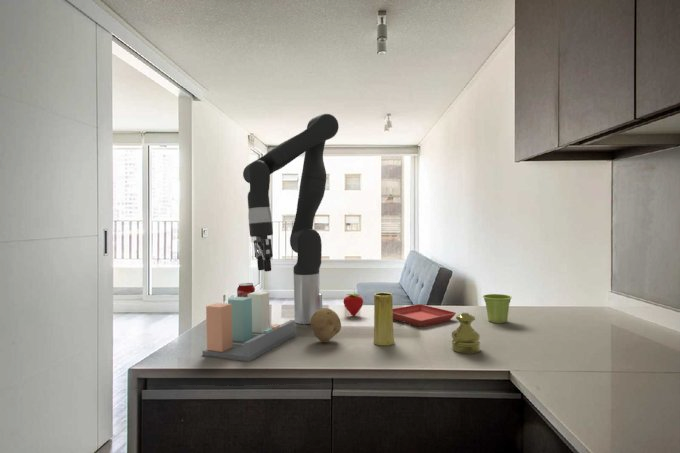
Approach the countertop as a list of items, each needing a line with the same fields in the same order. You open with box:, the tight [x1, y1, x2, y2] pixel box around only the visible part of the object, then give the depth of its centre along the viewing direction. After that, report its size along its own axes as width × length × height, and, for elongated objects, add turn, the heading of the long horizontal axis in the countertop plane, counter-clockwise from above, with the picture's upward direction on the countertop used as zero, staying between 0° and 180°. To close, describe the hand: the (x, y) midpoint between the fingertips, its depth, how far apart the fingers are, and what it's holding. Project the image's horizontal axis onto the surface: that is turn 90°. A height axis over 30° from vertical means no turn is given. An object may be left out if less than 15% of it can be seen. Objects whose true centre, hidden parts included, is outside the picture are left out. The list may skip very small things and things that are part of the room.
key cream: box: [248, 291, 271, 333], centre depth 128 cm, size 5×4×12 cm
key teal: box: [227, 296, 252, 342], centre depth 120 cm, size 5×4×12 cm
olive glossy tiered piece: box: [451, 312, 481, 355], centre depth 110 cm, size 7×7×10 cm
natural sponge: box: [309, 307, 342, 343], centre depth 120 cm, size 9×9×10 cm
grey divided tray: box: [202, 319, 296, 362], centre depth 118 cm, size 15×25×6 cm, turn 158°
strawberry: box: [342, 290, 364, 317], centre depth 152 cm, size 6×8×10 cm
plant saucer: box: [393, 303, 457, 328], centre depth 144 cm, size 18×18×3 cm
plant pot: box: [482, 293, 513, 324], centre depth 139 cm, size 9×9×9 cm
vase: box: [373, 292, 395, 347], centre depth 117 cm, size 6×6×14 cm
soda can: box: [236, 282, 256, 297], centre depth 157 cm, size 7×7×12 cm
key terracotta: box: [205, 302, 233, 352], centre depth 111 cm, size 5×4×12 cm
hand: (264, 270), depth 133 cm, fingers open, 8 cm apart
